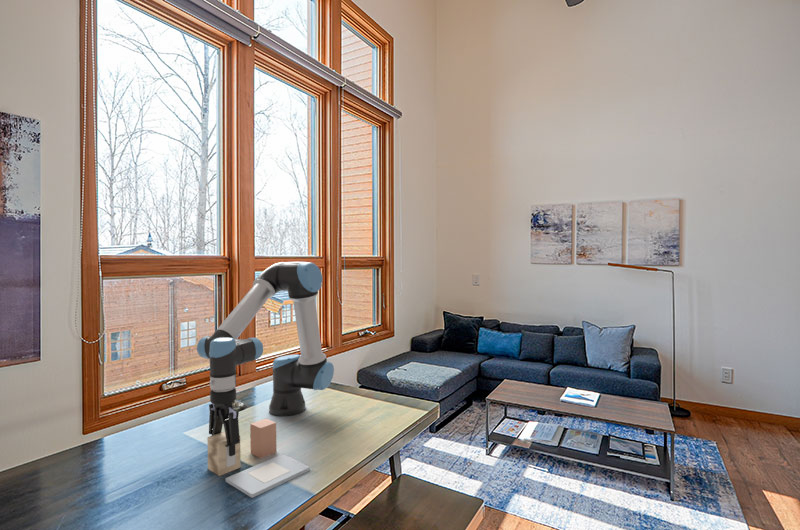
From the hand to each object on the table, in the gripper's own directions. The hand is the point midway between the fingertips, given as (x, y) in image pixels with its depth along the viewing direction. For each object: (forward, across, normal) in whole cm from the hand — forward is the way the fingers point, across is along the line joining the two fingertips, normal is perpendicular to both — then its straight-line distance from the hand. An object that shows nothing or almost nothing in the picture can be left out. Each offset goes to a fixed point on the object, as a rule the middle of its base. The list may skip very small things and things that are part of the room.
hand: (224, 461), depth 137 cm
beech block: (+2, 0, 0) cm, 2 cm away
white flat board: (+2, +15, +6) cm, 16 cm away
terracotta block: (+2, 0, +14) cm, 14 cm away
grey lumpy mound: (+3, -48, +30) cm, 57 cm away
